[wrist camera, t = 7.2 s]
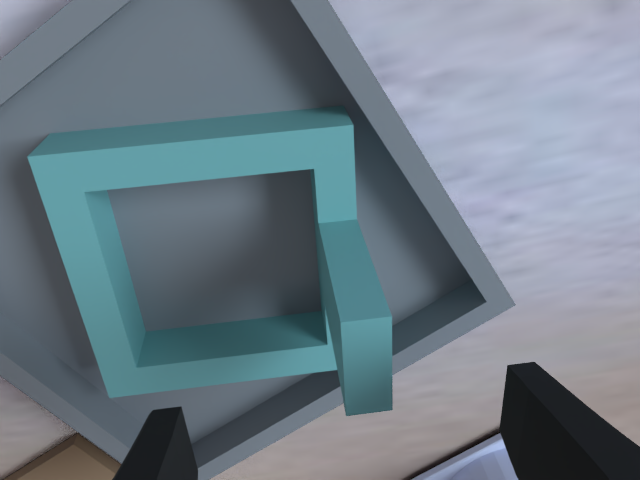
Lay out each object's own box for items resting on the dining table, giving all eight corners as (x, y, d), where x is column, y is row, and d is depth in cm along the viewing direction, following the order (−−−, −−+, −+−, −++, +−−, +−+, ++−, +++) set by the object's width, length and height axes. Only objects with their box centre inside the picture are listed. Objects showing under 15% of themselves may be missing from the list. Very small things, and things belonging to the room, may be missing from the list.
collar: (120, 360, 22) (69, 530, 15) (50, 133, 17) (-63, 247, 11) (353, 332, 22) (392, 486, 16) (343, 105, 18) (391, 199, 12)
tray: (494, 275, 22) (515, 304, 20) (177, 460, 25) (172, 500, 23) (242, -133, 15) (241, -141, 13) (-159, 199, 18) (-203, 228, 16)
